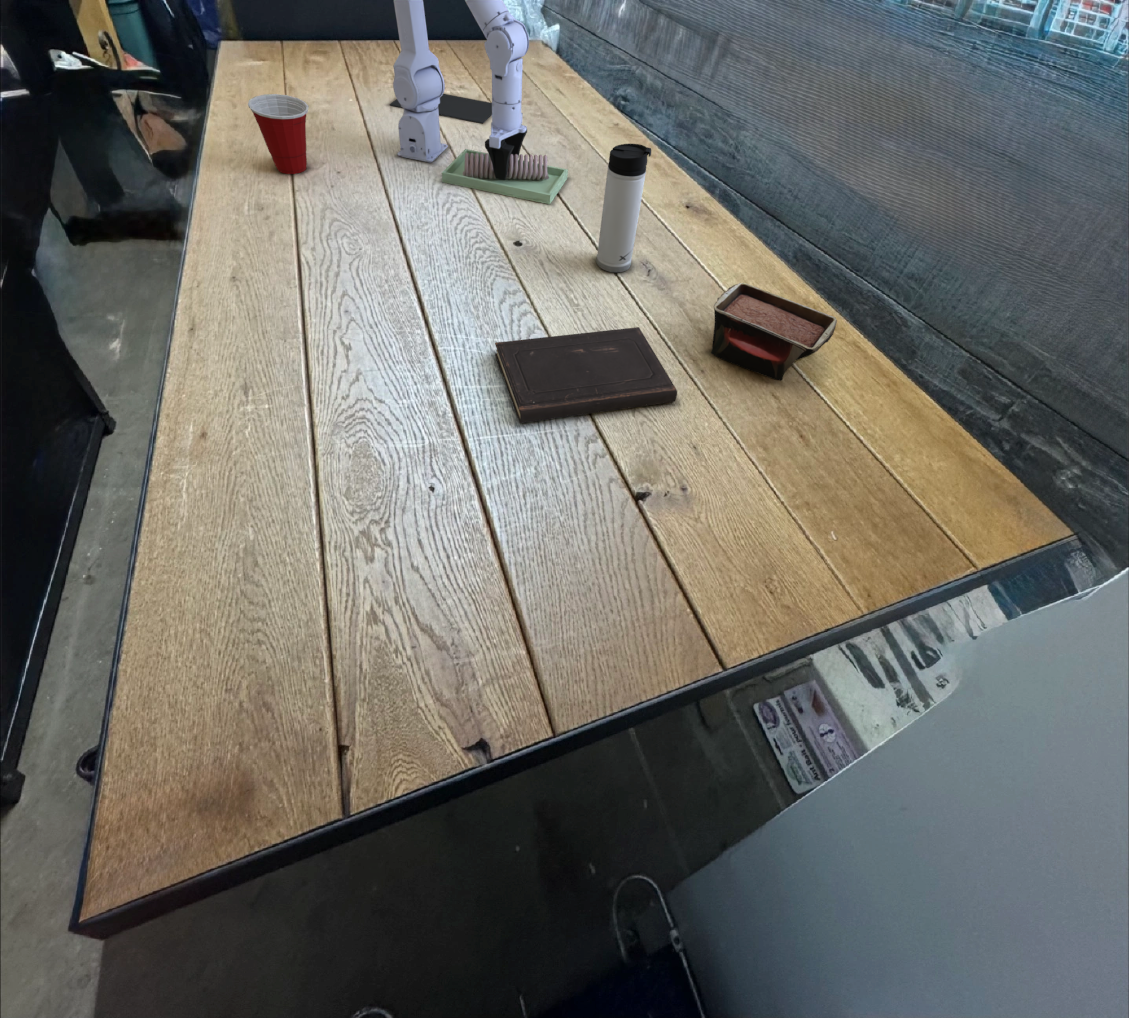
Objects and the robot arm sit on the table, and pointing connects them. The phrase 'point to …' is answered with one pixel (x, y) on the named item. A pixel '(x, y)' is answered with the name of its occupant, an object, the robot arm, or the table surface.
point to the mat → (461, 108)
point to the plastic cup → (283, 129)
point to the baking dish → (766, 330)
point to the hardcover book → (582, 374)
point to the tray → (508, 181)
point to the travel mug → (621, 206)
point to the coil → (514, 170)
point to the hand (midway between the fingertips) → (506, 172)
